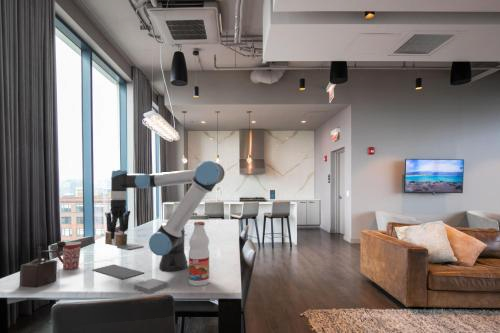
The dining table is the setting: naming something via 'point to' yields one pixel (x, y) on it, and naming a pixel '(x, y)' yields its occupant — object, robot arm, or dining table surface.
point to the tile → (150, 285)
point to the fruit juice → (199, 256)
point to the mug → (70, 255)
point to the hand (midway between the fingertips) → (117, 244)
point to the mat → (118, 271)
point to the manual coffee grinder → (40, 269)
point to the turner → (121, 242)
